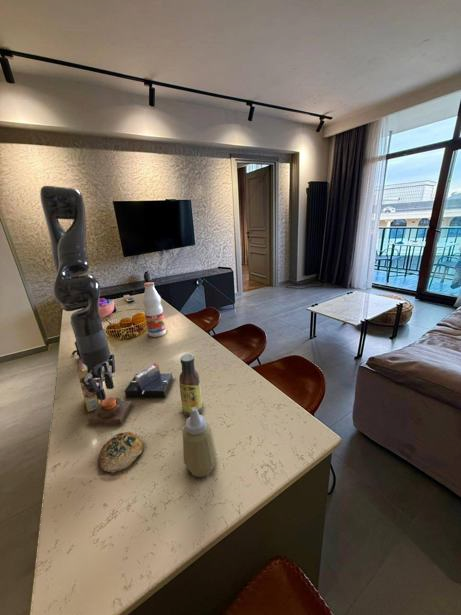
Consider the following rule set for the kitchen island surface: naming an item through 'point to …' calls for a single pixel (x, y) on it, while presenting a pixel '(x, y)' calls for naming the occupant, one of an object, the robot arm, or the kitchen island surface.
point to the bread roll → (120, 452)
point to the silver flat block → (147, 376)
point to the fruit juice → (153, 311)
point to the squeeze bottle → (198, 445)
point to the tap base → (150, 388)
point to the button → (109, 403)
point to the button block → (111, 413)
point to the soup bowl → (105, 307)
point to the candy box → (89, 397)
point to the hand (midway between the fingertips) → (106, 393)
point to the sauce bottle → (189, 385)
